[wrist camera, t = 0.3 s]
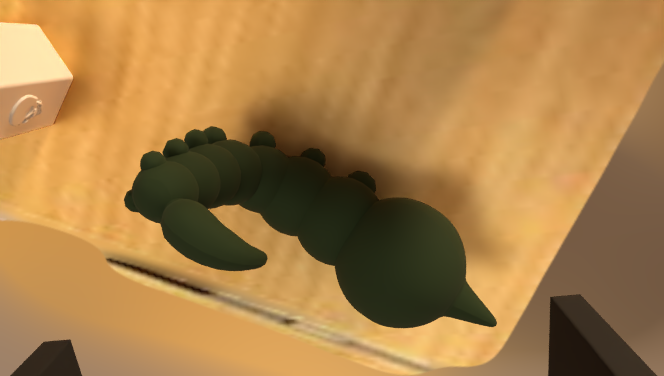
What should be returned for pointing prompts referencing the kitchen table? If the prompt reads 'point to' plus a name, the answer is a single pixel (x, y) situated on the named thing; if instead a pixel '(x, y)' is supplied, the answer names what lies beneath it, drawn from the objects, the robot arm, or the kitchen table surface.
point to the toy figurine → (309, 224)
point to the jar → (29, 80)
